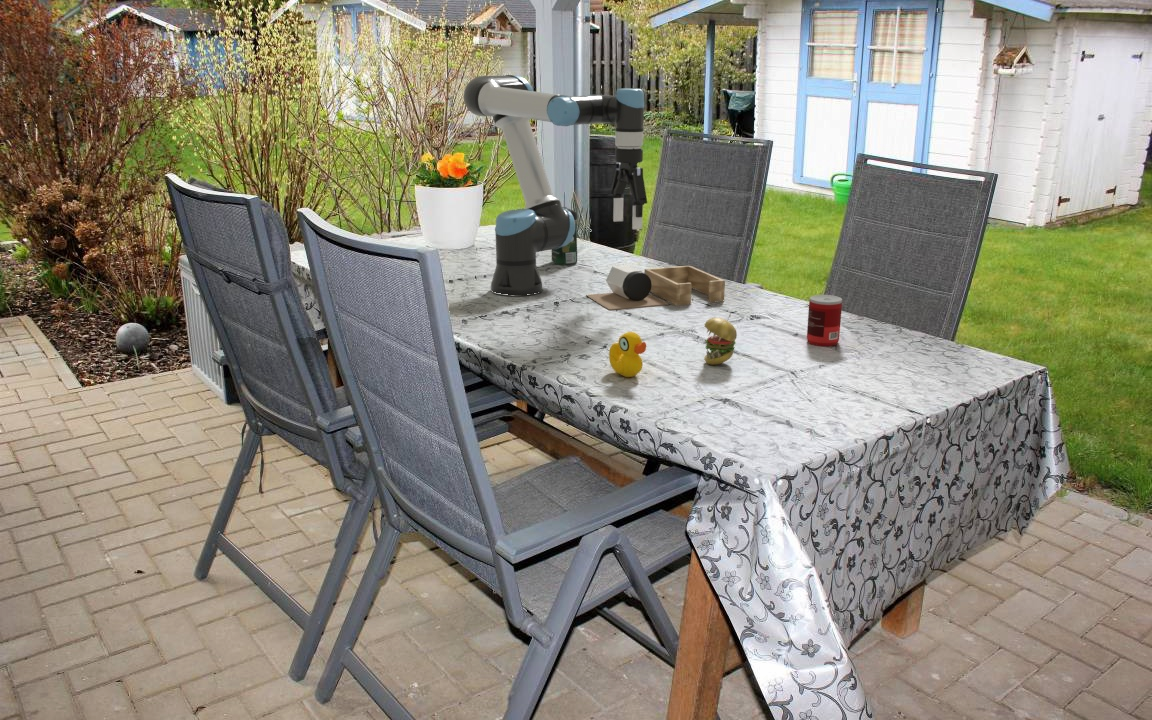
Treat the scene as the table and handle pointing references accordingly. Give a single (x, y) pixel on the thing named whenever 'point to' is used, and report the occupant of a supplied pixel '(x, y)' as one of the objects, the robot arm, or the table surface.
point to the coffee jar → (567, 248)
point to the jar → (629, 282)
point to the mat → (625, 301)
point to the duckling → (627, 354)
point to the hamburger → (720, 340)
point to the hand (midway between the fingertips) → (627, 225)
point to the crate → (684, 284)
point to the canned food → (824, 320)
